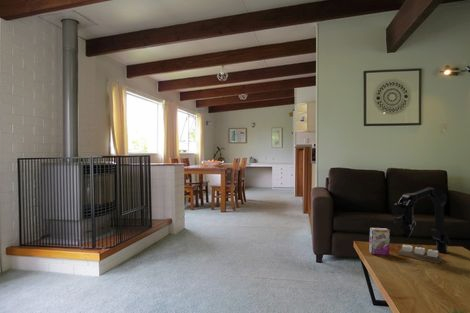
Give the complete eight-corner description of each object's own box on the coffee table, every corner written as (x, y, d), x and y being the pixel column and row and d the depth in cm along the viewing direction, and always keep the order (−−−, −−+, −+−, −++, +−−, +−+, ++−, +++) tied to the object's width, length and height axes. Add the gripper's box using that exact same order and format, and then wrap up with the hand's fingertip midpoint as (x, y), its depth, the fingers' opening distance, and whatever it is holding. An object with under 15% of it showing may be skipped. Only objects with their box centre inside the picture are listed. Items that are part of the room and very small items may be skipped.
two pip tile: (415, 251, 195) (416, 246, 195) (425, 253, 192) (425, 248, 192) (414, 253, 191) (414, 248, 191) (423, 254, 188) (423, 249, 188)
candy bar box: (371, 254, 195) (372, 229, 195) (369, 252, 200) (369, 227, 200) (389, 255, 194) (390, 230, 193) (386, 252, 199) (387, 228, 198)
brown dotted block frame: (402, 251, 202) (402, 247, 202) (441, 259, 188) (441, 255, 188) (398, 255, 195) (398, 251, 195) (439, 263, 180) (439, 259, 180)
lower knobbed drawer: (428, 253, 190) (428, 248, 190) (438, 255, 187) (438, 250, 187) (427, 255, 186) (427, 250, 186) (437, 257, 183) (437, 252, 183)
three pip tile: (403, 248, 199) (403, 244, 199) (412, 250, 196) (412, 245, 196) (402, 250, 196) (402, 245, 196) (410, 252, 192) (410, 247, 192)
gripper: (397, 210, 208) (397, 232, 208) (390, 214, 194) (390, 238, 194) (416, 212, 201) (415, 235, 201) (410, 216, 186) (409, 241, 187)
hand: (407, 237), depth 196 cm, fingers closed
